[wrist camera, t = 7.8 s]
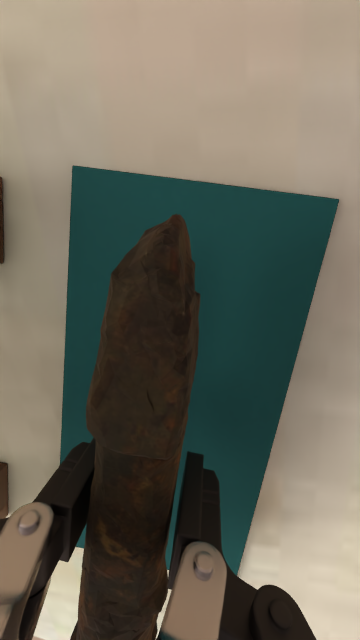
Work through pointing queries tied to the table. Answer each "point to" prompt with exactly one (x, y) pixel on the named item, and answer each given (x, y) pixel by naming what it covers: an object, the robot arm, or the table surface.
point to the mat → (204, 315)
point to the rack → (0, 468)
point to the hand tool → (138, 433)
